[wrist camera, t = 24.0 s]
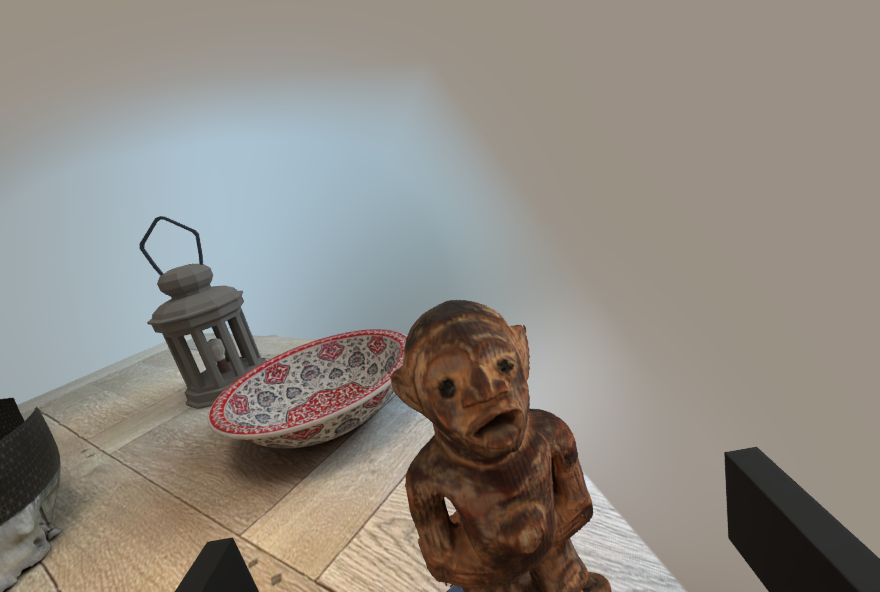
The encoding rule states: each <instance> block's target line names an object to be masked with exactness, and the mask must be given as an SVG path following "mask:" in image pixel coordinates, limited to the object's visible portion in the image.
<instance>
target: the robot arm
mask: <svg viewBox="0 0 880 592" xmlns="http://www.w3.org/2000/svg"><path fill="white" fill-rule="evenodd" d="M725 475H726V496H727V516H728V537H729V539H730V541H731V542H732V543H733V545H734V546H735V547H736V549H737V550H738V551H739V553H740V554H741V555H742V557H743V558H744V559H745V561H746V562H747V563H748V564H749V566H750V567H751V568H752V570H753V571H754V572H755V574H756V575H757V577H758V578H759V579H760V581H761V582H762V583H763V585H764V586H765V587H766V589H767V590H768V591H769V592H880V559H879V558H878V557H877V556H876V555H875V554H874V553H873V552H872V551H871V550H869V549H868V548H867V547H866V546H865V545H864V544H863V543H862V542H861V541H859V540H858V538H856V537H855V536H854V535H853V534H852V533H851V532H850V531H849V530H848V529H846V528H845V527H844V526H843V525H842V524H841V523H840V522H839V521H838V520H836V519H835V518H834V517H833V516H832V515H831V514H830V513H829V512H828V511H827V510H825V509H824V508H823V507H822V506H821V505H820V504H819V503H818V502H817V501H815V499H814V498H812V497H811V496H810V495H809V494H808V493H807V492H806V491H804V490H803V488H801V487H800V486H799V485H798V484H797V483H796V482H795V481H794V480H793V479H792V478H790V477H789V476H788V475H787V474H786V473H785V472H784V471H783V470H782V469H781V468H779V467H778V466H777V465H776V464H775V463H774V462H773V461H772V460H771V459H770V458H768V457H767V456H766V455H765V454H764V453H763V452H762V451H761V450H760V449H759V448H757V447H753V448H747V449H741V450H736V451H730V452H725ZM175 592H259V591H258V589H257V587H256V585H255V582H254V580H253V578H252V576H251V574H250V572H249V570H248V568H247V566H246V564H245V562H244V560H243V558H242V556H241V553H240V551H239V549H238V547H237V545H236V543H235V541H234V539H233V538H228V539H222V540H216V541H210V542H207V543H206V545H205V546H204V548H203V549H202V551H201V552H200V554H199V555H198V557H197V559H196V560H195V562H194V563H193V565H192V566H191V568H190V569H189V571H188V572H187V574H186V575H185V577H184V578H183V580H182V581H181V583H180V585H179V586H178V588H177V589H176V591H175Z"/></svg>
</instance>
